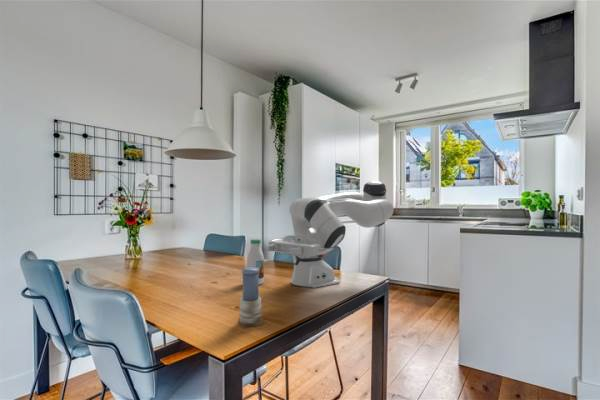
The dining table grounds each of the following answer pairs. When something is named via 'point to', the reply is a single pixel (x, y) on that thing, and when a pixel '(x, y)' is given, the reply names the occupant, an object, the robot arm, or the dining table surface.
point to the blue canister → (250, 283)
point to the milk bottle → (256, 258)
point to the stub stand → (250, 313)
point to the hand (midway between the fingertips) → (278, 250)
